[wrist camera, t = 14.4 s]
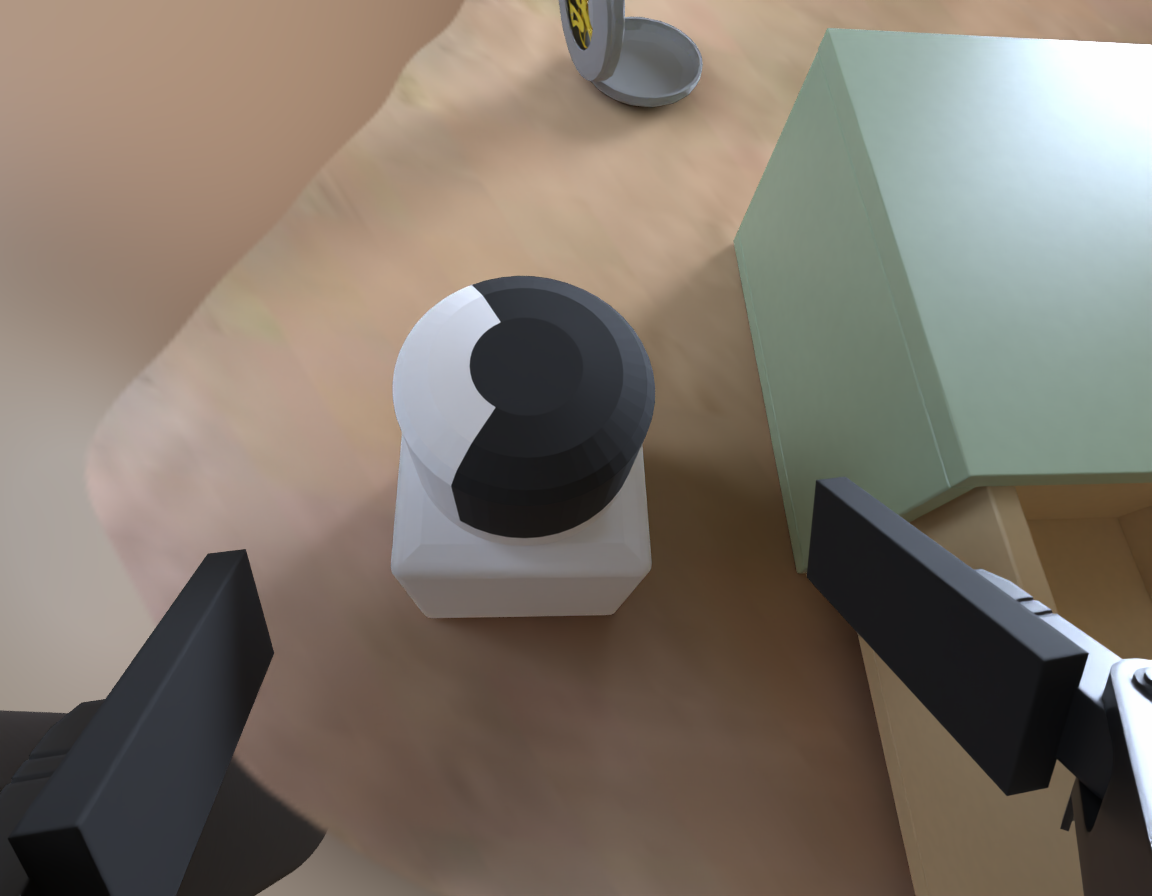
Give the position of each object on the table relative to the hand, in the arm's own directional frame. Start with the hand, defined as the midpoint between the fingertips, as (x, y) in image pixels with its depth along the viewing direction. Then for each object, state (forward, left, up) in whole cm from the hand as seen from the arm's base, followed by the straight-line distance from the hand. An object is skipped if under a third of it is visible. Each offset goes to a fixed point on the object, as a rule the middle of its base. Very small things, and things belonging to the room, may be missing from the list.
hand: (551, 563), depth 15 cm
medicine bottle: (-1, +4, -10) cm, 10 cm away
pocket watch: (+5, +30, -10) cm, 32 cm away
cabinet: (+17, +10, -10) cm, 22 cm away
